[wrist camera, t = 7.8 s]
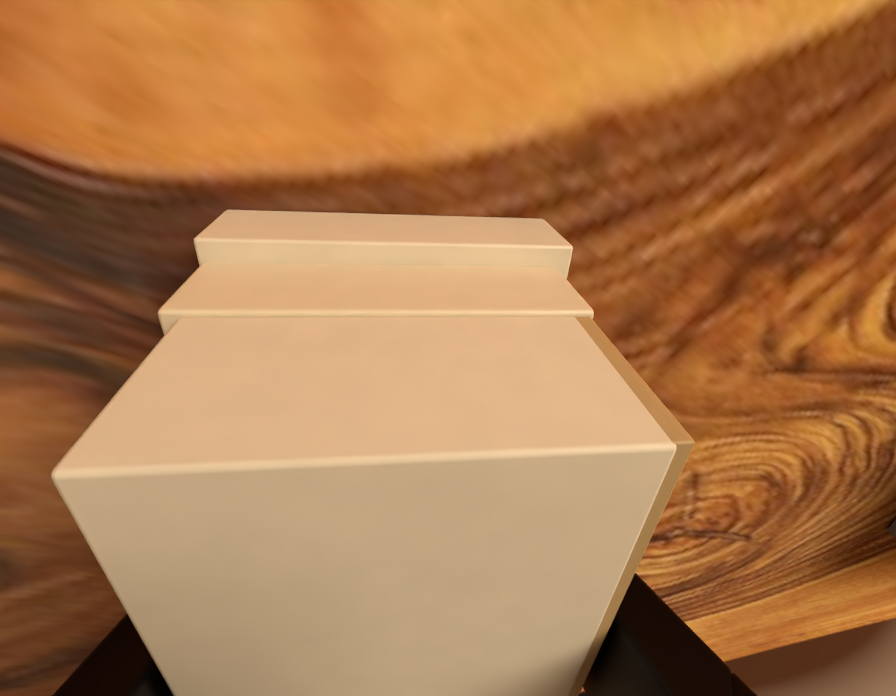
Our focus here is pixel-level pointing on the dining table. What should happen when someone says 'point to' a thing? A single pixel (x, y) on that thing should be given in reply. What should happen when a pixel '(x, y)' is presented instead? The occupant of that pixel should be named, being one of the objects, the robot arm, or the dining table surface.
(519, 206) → the dining table surface
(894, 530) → the grey book stack
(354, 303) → the cream book stack
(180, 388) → the beige rectangular block
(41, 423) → the dining table surface
